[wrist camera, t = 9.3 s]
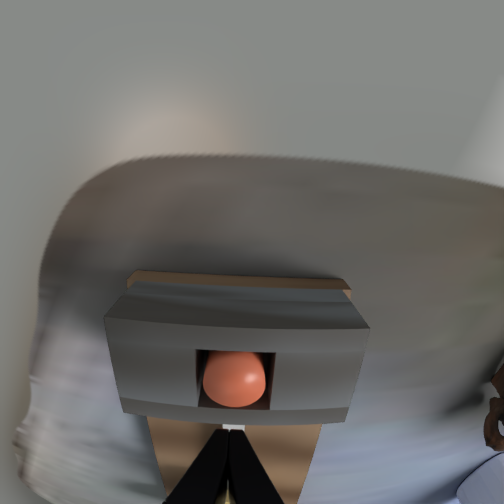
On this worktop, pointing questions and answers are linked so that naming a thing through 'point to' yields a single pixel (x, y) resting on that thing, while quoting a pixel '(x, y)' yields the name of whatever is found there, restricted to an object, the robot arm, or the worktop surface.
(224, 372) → the orange ball
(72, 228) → the worktop surface
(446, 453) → the worktop surface
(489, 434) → the pottery mug
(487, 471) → the soap bottle
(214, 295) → the rail board
